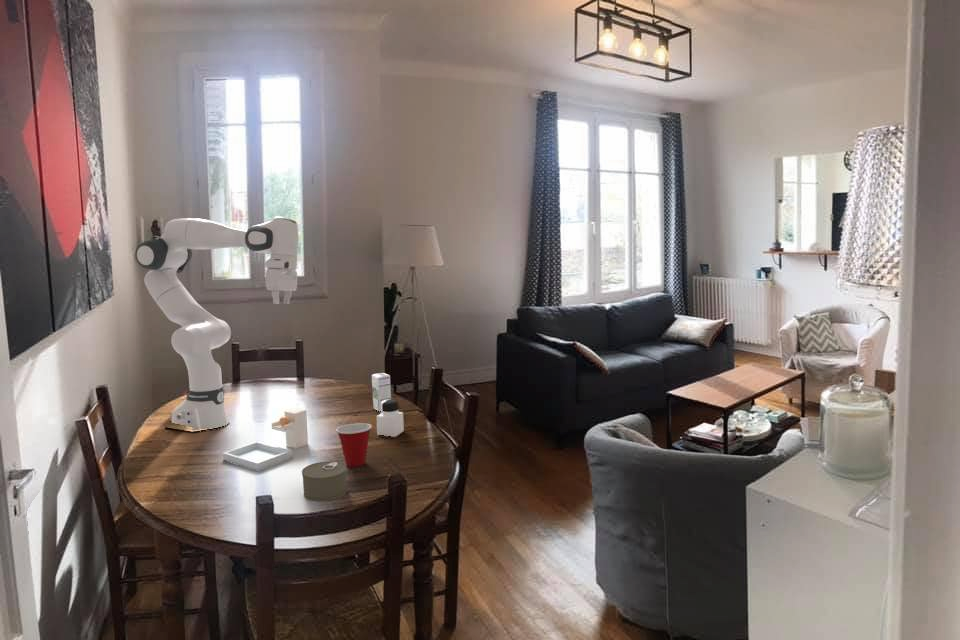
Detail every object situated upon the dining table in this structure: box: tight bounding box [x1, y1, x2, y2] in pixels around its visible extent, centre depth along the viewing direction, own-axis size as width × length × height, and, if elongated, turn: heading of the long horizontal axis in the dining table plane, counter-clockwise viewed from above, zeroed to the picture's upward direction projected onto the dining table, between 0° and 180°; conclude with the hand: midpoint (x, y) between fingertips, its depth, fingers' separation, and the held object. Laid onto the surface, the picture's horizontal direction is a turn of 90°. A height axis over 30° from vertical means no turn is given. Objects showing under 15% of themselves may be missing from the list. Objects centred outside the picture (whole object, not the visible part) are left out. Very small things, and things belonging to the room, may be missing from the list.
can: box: [301, 461, 348, 503], centre depth 178 cm, size 12×12×7 cm
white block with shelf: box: [271, 407, 309, 449], centre depth 214 cm, size 10×6×12 cm, turn 147°
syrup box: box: [371, 372, 392, 413], centre depth 257 cm, size 6×6×14 cm
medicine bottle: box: [376, 398, 405, 438], centre depth 228 cm, size 7×7×12 cm
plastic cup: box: [335, 422, 372, 468], centre depth 199 cm, size 11×11×12 cm
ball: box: [278, 415, 289, 426], centre depth 212 cm, size 3×3×3 cm
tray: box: [222, 441, 293, 472], centre depth 204 cm, size 17×13×2 cm
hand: (281, 303), depth 224 cm, fingers open, 8 cm apart
